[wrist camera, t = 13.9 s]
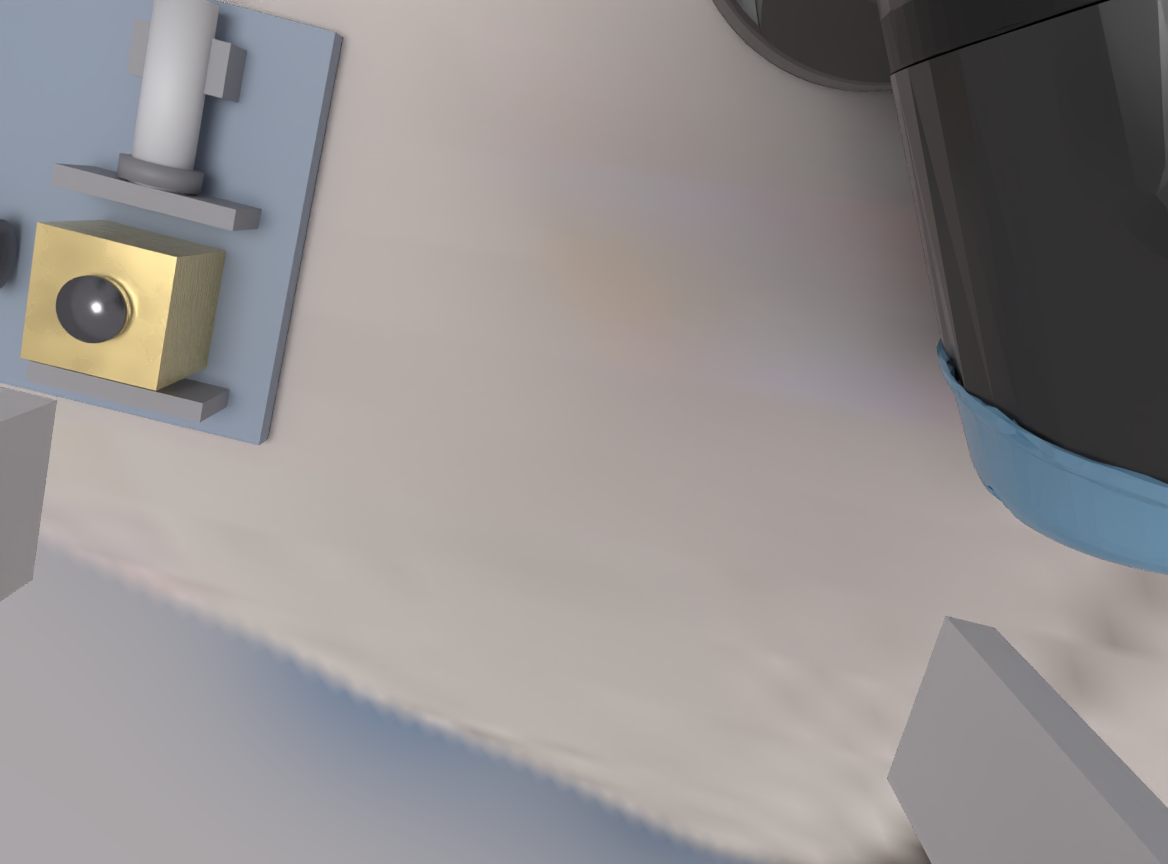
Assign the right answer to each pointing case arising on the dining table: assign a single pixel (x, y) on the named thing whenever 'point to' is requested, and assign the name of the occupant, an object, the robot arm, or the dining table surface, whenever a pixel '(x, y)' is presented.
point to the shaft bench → (166, 174)
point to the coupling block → (121, 302)
